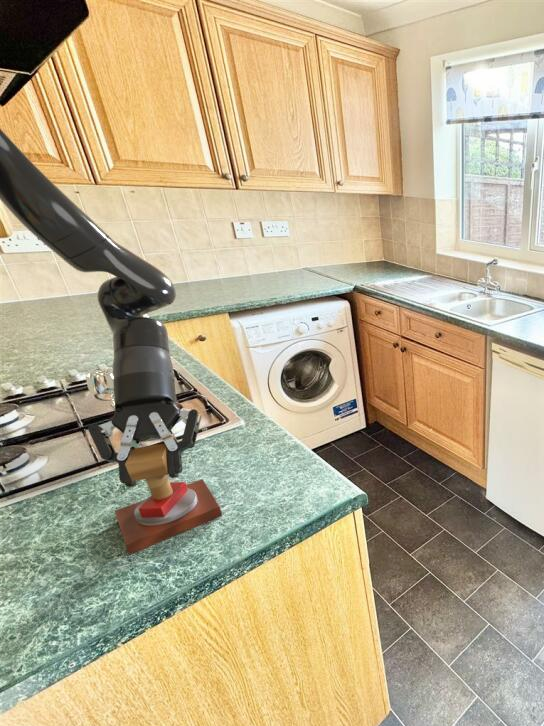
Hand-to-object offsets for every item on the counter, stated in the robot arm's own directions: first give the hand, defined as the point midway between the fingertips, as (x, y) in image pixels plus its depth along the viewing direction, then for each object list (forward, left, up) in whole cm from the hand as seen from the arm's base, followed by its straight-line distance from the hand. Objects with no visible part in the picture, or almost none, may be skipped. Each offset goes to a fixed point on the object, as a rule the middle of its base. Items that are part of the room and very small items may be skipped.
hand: (152, 480), depth 64 cm
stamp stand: (+1, +2, -9) cm, 9 cm away
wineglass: (0, +45, -9) cm, 46 cm away
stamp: (+1, +2, -7) cm, 7 cm away
